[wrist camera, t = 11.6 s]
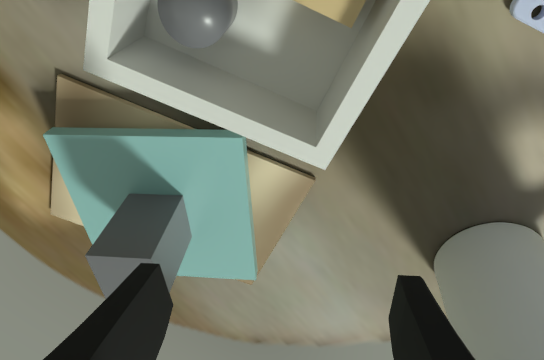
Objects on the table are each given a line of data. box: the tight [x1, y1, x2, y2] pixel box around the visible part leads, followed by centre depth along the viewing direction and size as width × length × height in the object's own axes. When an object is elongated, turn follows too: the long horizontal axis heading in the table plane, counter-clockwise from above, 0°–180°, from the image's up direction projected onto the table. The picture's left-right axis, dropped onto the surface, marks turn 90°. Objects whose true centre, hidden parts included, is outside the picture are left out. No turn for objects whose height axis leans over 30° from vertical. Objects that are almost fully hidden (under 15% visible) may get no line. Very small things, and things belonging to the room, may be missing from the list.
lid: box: [43, 127, 258, 299], centre depth 19 cm, size 10×10×6 cm
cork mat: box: [51, 74, 315, 285], centre depth 22 cm, size 14×10×1 cm
